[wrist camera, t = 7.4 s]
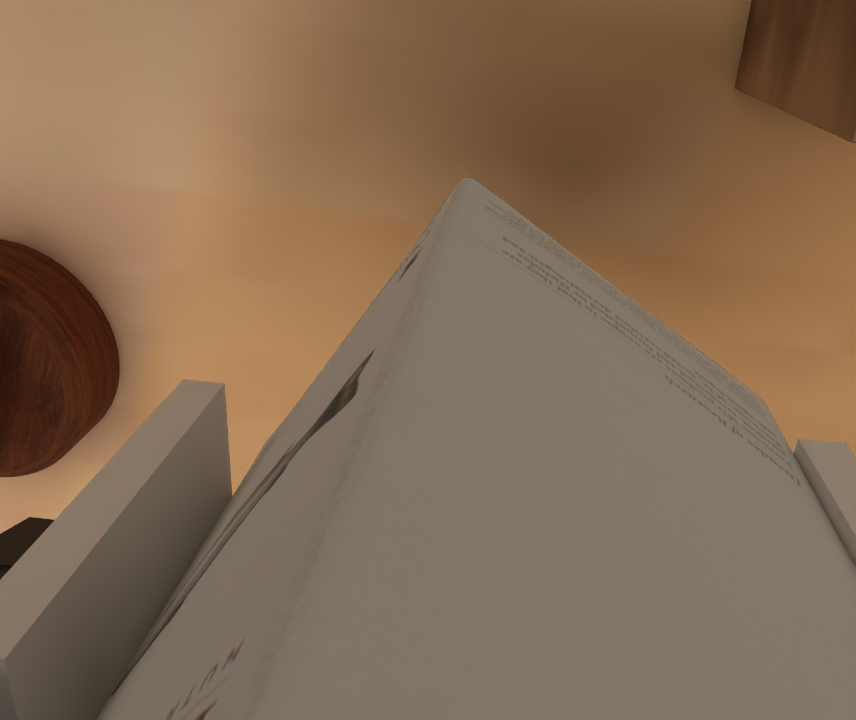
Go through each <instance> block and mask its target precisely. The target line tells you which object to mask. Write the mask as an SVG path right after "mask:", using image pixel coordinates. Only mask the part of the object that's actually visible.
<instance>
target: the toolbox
mask: <svg viewBox="0 0 856 720" xmlns="http://www.w3.org/2000/svg"><path fill="white" fill-rule="evenodd" d="M735 88H736V89H738V90H740V91H742V92H744V93H746V94H749V95H751V96H753V97H755V98H757V99H759V100H761V101H764V102H766V103H768V104H770V105H772V106H774V107H777V108H779V109H781V110H783V111H785V112H787V113H789V114H792V115H794V116H796V117H798V118H800V119H802V120H804V121H807V122H809V123H811V124H813V125H815V126H817V127H819V128H822V129H824V130H826V131H828V132H830V133H832V134H834V135H837V136H839V137H841V138H843V139H845V140H847V141H849V142H852V143H856V0H752V3H751V9H750V14H749V19H748V24H747V29H746V34H745V39H744V45H743V50H742V55H741V60H740V65H739V70H738V76H737V81H736V86H735Z"/></svg>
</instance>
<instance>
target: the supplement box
mask: <svg viewBox="0 0 856 720" xmlns="http://www.w3.org/2000/svg"><path fill="white" fill-rule="evenodd" d="M95 720H856V567H855V565H854V564H853V562H852V560H851V558H850V556H849V555H848V553H847V551H846V549H845V547H844V546H843V544H842V542H841V540H840V538H839V536H838V535H837V533H836V531H835V529H834V527H833V525H832V524H831V522H830V520H829V518H828V516H827V514H826V512H825V511H824V509H823V507H822V505H821V503H820V501H819V499H818V498H817V496H816V494H815V492H814V490H813V489H812V487H811V485H810V484H809V482H808V480H807V479H806V477H805V475H804V473H803V471H802V469H801V467H800V465H799V463H798V462H797V460H796V458H795V456H794V454H793V452H792V451H791V449H790V447H789V445H788V443H787V441H786V440H785V438H784V436H783V434H782V432H781V430H780V428H779V427H778V425H777V423H776V421H775V419H774V418H773V416H772V414H771V412H770V411H769V409H768V407H767V405H766V404H765V402H764V400H763V399H762V398H760V397H759V396H758V395H757V394H755V393H754V392H753V391H751V390H750V389H749V388H748V387H746V386H745V385H744V384H742V383H741V382H740V381H738V380H737V379H736V378H734V377H733V376H732V375H730V374H729V373H728V372H726V371H725V370H724V369H723V368H721V367H720V366H719V365H718V364H716V363H715V362H714V361H713V360H711V359H710V358H708V357H707V356H706V355H704V354H703V353H702V352H700V351H699V350H698V349H697V348H695V347H694V346H692V345H691V344H690V343H688V342H687V341H686V340H685V339H683V338H682V337H680V336H679V335H678V334H676V333H675V332H674V331H672V330H671V329H670V328H669V327H667V326H666V325H665V324H664V323H663V322H661V321H660V320H659V319H658V318H656V317H655V316H654V315H652V314H651V313H650V312H648V311H647V310H645V309H644V308H643V307H641V306H640V305H639V304H637V303H636V302H634V301H633V300H632V299H630V298H629V297H628V296H627V295H625V294H624V293H623V292H622V291H620V290H619V289H618V288H616V287H615V286H614V285H613V284H611V283H610V282H609V281H607V280H606V279H605V278H603V277H602V276H601V275H599V274H598V273H597V272H595V271H594V270H593V269H591V268H590V267H589V266H587V265H586V264H585V263H583V262H582V261H581V260H580V259H578V258H577V257H576V256H574V255H573V254H572V253H571V252H569V251H568V250H567V249H565V248H564V247H563V246H561V245H560V244H559V243H558V242H556V241H555V240H554V239H552V238H551V237H550V236H548V235H547V234H546V233H544V232H543V231H542V230H541V229H539V228H538V227H537V226H535V225H534V224H533V223H531V222H530V221H529V220H528V219H526V218H525V217H524V216H522V215H521V214H520V213H518V212H517V211H516V210H514V209H513V208H512V207H511V206H509V205H508V204H507V203H505V202H504V201H503V200H501V199H500V198H499V197H497V196H496V195H495V194H493V193H492V192H490V191H489V190H488V189H486V188H485V187H484V186H483V185H481V184H480V183H479V182H477V181H476V180H474V179H471V178H469V177H466V178H463V179H461V180H460V181H459V182H458V184H457V185H456V187H455V188H454V190H453V191H452V193H451V194H450V196H449V197H448V199H447V200H446V202H445V203H444V205H443V206H442V207H441V209H440V210H439V212H438V213H437V215H436V216H435V218H434V219H433V221H432V222H431V223H430V225H429V226H428V228H427V229H426V230H425V232H424V233H423V235H422V236H421V237H420V239H419V240H418V242H417V243H416V244H415V246H414V247H413V249H412V250H411V251H410V253H409V254H408V255H407V257H406V258H405V259H404V261H403V262H402V263H401V265H400V266H399V267H398V269H397V270H396V272H395V273H394V274H393V276H392V277H391V278H390V280H389V281H388V282H387V284H386V285H385V286H384V288H383V289H382V290H381V292H380V293H379V294H378V296H377V297H376V298H375V300H374V301H373V302H372V304H371V305H370V306H369V308H368V309H367V310H366V312H365V313H364V314H363V316H362V317H361V318H360V320H359V321H358V322H357V324H356V325H355V326H354V328H353V329H352V330H351V332H350V333H349V334H348V336H347V337H346V338H345V340H344V341H343V342H342V344H341V345H340V346H339V348H338V349H337V350H336V352H335V353H334V354H333V356H332V357H331V358H330V360H329V361H328V362H327V364H326V365H325V366H324V368H323V369H322V370H321V372H320V373H319V374H318V376H317V377H316V378H315V380H314V381H313V383H312V384H311V385H310V387H309V388H308V389H307V391H306V392H305V393H304V395H303V396H302V397H301V399H300V400H299V402H298V403H297V404H296V406H295V407H294V408H293V409H292V411H291V412H290V413H289V414H288V416H287V417H286V418H285V419H284V421H283V422H282V423H281V424H280V426H279V427H278V428H277V429H276V430H275V432H274V433H273V434H272V435H271V436H270V438H269V439H268V440H267V441H266V443H265V444H264V446H263V447H262V449H261V451H260V452H259V454H258V456H257V457H256V459H255V461H254V463H253V464H252V466H251V467H250V469H249V471H248V472H247V474H246V475H245V477H244V479H243V480H242V482H241V484H240V485H239V487H238V488H237V490H236V492H235V493H234V495H233V497H232V498H231V500H230V501H229V503H228V505H227V506H226V508H225V509H224V511H223V513H222V514H221V516H220V517H219V519H218V521H217V522H216V524H215V525H214V527H213V529H212V530H211V532H210V533H209V535H208V537H207V538H206V540H205V541H204V543H203V545H202V546H201V548H200V550H199V551H198V553H197V554H196V556H195V558H194V559H193V561H192V563H191V564H190V566H189V567H188V569H187V571H186V572H185V574H184V576H183V577H182V579H181V580H180V582H179V584H178V585H177V587H176V589H175V590H174V592H173V593H172V595H171V597H170V598H169V600H168V602H167V603H166V605H165V606H164V608H163V610H162V611H161V613H160V615H159V616H158V618H157V619H156V621H155V623H154V624H153V626H152V628H151V629H150V631H149V632H148V634H147V636H146V637H145V639H144V640H143V642H142V644H141V645H140V647H139V649H138V650H137V652H136V653H135V655H134V657H133V658H132V660H131V662H130V663H129V665H128V667H127V668H126V670H125V671H124V673H123V675H122V676H121V678H120V680H119V681H118V683H117V685H116V686H115V688H114V689H113V691H112V693H111V694H110V696H109V698H108V699H107V701H106V703H105V704H104V706H103V708H102V709H101V711H100V713H99V714H98V716H97V718H96V719H95Z"/></svg>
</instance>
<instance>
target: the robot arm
mask: <svg viewBox="0 0 856 720" xmlns="http://www.w3.org/2000/svg"><path fill="white" fill-rule="evenodd" d="M794 456H795V458H796V460H797V462H798V463H799V465H800V467H801V469H802V471H803V473H804V475H805V477H806V479H807V480H808V482H809V484H810V485H811V487H812V489H813V490H814V492H815V494H816V496H817V498H818V499H819V501H820V503H821V505H822V507H823V509H824V511H825V512H826V514H827V516H828V518H829V520H830V522H831V524H832V525H833V527H834V529H835V531H836V533H837V535H838V536H839V538H840V540H841V542H842V544H843V546H844V547H845V549H846V551H847V553H848V555H849V556H850V558H851V560H852V562H853V564H854V565H855V567H856V457H855V456H854V454H853V453H852V451H851V450H850V449H849V447H848V446H847V444H846V443H841V442H831V441H820V440H810V439H800V438H798V441H797V445H796V449H795V452H794ZM231 498H232V486H231V471H230V456H229V442H228V427H227V412H226V398H225V383H215V382H204V381H194V380H182V382H181V383H180V384H179V385H178V386H177V387H176V388H175V389H174V390H173V391H172V392H171V394H170V395H169V396H168V397H167V398H166V399H165V400H164V401H163V402H162V403H161V404H160V406H159V407H158V408H157V409H156V410H155V411H154V412H153V413H152V414H151V415H150V417H149V418H148V419H147V420H146V421H145V422H144V423H143V424H142V425H141V426H140V427H139V429H138V430H137V431H136V432H135V433H134V434H133V435H132V436H131V437H130V438H129V440H128V441H127V442H126V443H125V444H124V445H123V446H122V447H121V448H120V449H119V450H118V452H117V453H116V454H115V455H114V456H113V457H112V458H111V459H110V460H109V461H108V462H107V464H106V465H105V466H104V467H103V468H102V469H101V470H100V471H99V472H98V473H97V475H96V476H95V477H94V478H93V479H92V480H91V481H90V482H89V483H88V484H87V485H86V487H85V488H84V489H83V490H82V491H81V492H80V493H79V494H78V495H77V496H76V497H75V499H74V500H73V501H72V502H71V503H70V504H69V505H68V506H67V507H66V508H65V510H64V511H63V512H62V513H61V514H60V515H59V516H58V517H57V518H56V519H55V520H50V519H42V518H33V517H29V518H27V519H26V520H24V521H22V522H20V523H19V524H17V525H15V526H13V527H12V528H10V529H8V530H6V531H5V532H3V533H1V534H0V720H95V719H96V718H97V716H98V714H99V713H100V711H101V709H102V708H103V706H104V704H105V703H106V701H107V699H108V698H109V696H110V694H111V693H112V691H113V689H114V688H115V686H116V685H117V683H118V681H119V680H120V678H121V676H122V675H123V673H124V671H125V670H126V668H127V667H128V665H129V663H130V662H131V660H132V658H133V657H134V655H135V653H136V652H137V650H138V649H139V647H140V645H141V644H142V642H143V640H144V639H145V637H146V636H147V634H148V632H149V631H150V629H151V628H152V626H153V624H154V623H155V621H156V619H157V618H158V616H159V615H160V613H161V611H162V610H163V608H164V606H165V605H166V603H167V602H168V600H169V598H170V597H171V595H172V593H173V592H174V590H175V589H176V587H177V585H178V584H179V582H180V580H181V579H182V577H183V576H184V574H185V572H186V571H187V569H188V567H189V566H190V564H191V563H192V561H193V559H194V558H195V556H196V554H197V553H198V551H199V550H200V548H201V546H202V545H203V543H204V541H205V540H206V538H207V537H208V535H209V533H210V532H211V530H212V529H213V527H214V525H215V524H216V522H217V521H218V519H219V517H220V516H221V514H222V513H223V511H224V509H225V508H226V506H227V505H228V503H229V501H230V500H231Z"/></svg>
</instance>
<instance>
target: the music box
mask: <svg viewBox="0 0 856 720" xmlns="http://www.w3.org/2000/svg"><path fill="white" fill-rule="evenodd" d="M118 379H119V359H118V352H117V347H116V343H115V339H114V336H113V333H112V331H111V328H110V326H109V323H108V321H107V319H106V317H105V315H104V314H103V312H102V310H101V309H100V307H99V305H98V304H97V302H96V301H95V300H94V298H93V297H92V296H91V294H90V293H89V292H88V291H87V290H86V288H85V287H84V286H83V285H82V284H81V283H80V282H79V281H78V280H77V279H76V278H75V277H74V276H73V275H72V274H70V273H69V272H68V271H67V270H66V269H64V268H63V267H62V266H60V265H59V264H58V263H56V262H55V261H53V260H51V259H50V258H48V257H46V256H45V255H43V254H41V253H39V252H37V251H35V250H33V249H30V248H28V247H25V246H23V245H20V244H17V243H13V242H9V241H4V240H0V477H16V476H23V475H28V474H32V473H35V472H38V471H41V470H43V469H45V468H47V467H49V466H51V465H53V464H54V463H56V462H57V461H58V460H60V459H61V458H62V457H63V456H64V455H65V454H66V453H67V452H68V451H69V450H70V449H72V448H73V447H74V446H75V445H76V444H77V443H78V442H79V441H80V440H81V439H82V438H83V437H84V436H85V435H86V434H87V433H88V432H89V431H90V430H91V429H92V428H93V427H94V426H95V425H96V424H97V423H98V422H99V421H100V420H101V419H102V418H103V416H104V415H105V414H106V412H107V411H108V409H109V407H110V405H111V404H112V401H113V399H114V396H115V393H116V390H117V385H118Z"/></svg>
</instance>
